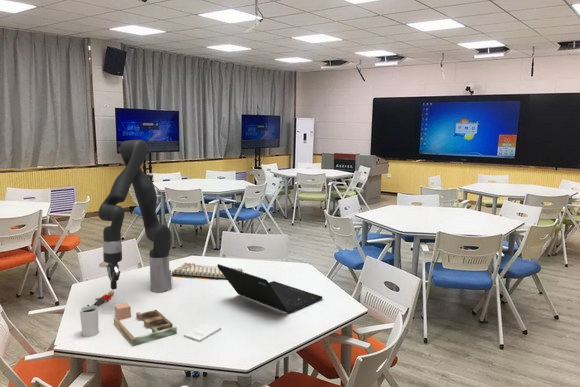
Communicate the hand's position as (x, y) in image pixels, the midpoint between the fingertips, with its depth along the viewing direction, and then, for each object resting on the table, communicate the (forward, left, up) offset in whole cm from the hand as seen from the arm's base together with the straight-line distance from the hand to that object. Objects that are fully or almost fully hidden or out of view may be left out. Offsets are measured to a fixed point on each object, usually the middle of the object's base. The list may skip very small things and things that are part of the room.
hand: (113, 288), depth 192 cm
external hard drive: (-21, +44, -10) cm, 50 cm away
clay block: (0, +10, -10) cm, 14 cm away
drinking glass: (+14, +18, -10) cm, 25 cm away
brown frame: (-4, +27, -9) cm, 29 cm away
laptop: (-61, +33, -10) cm, 70 cm away
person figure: (+2, -12, -10) cm, 16 cm away
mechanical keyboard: (-56, -20, -10) cm, 60 cm away
